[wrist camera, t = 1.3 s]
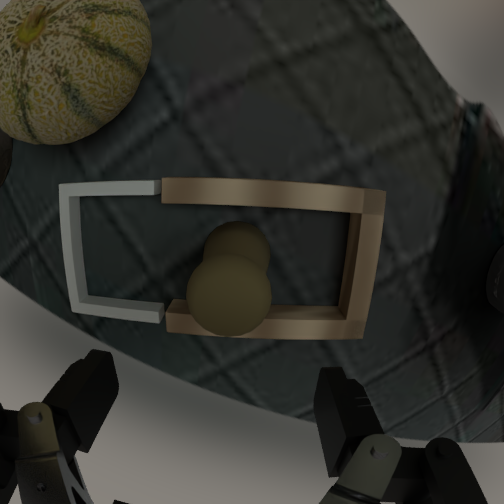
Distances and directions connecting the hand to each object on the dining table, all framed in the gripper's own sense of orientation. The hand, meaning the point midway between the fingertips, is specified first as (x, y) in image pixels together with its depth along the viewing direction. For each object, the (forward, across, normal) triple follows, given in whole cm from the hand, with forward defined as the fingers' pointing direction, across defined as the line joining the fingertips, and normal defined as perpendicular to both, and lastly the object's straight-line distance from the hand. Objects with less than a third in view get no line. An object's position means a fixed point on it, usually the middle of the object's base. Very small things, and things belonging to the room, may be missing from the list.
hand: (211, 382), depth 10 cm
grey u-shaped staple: (+18, +11, 0) cm, 21 cm away
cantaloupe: (+18, +14, -17) cm, 28 cm away
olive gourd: (+18, 0, 0) cm, 18 cm away
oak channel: (+17, -3, 0) cm, 18 cm away
